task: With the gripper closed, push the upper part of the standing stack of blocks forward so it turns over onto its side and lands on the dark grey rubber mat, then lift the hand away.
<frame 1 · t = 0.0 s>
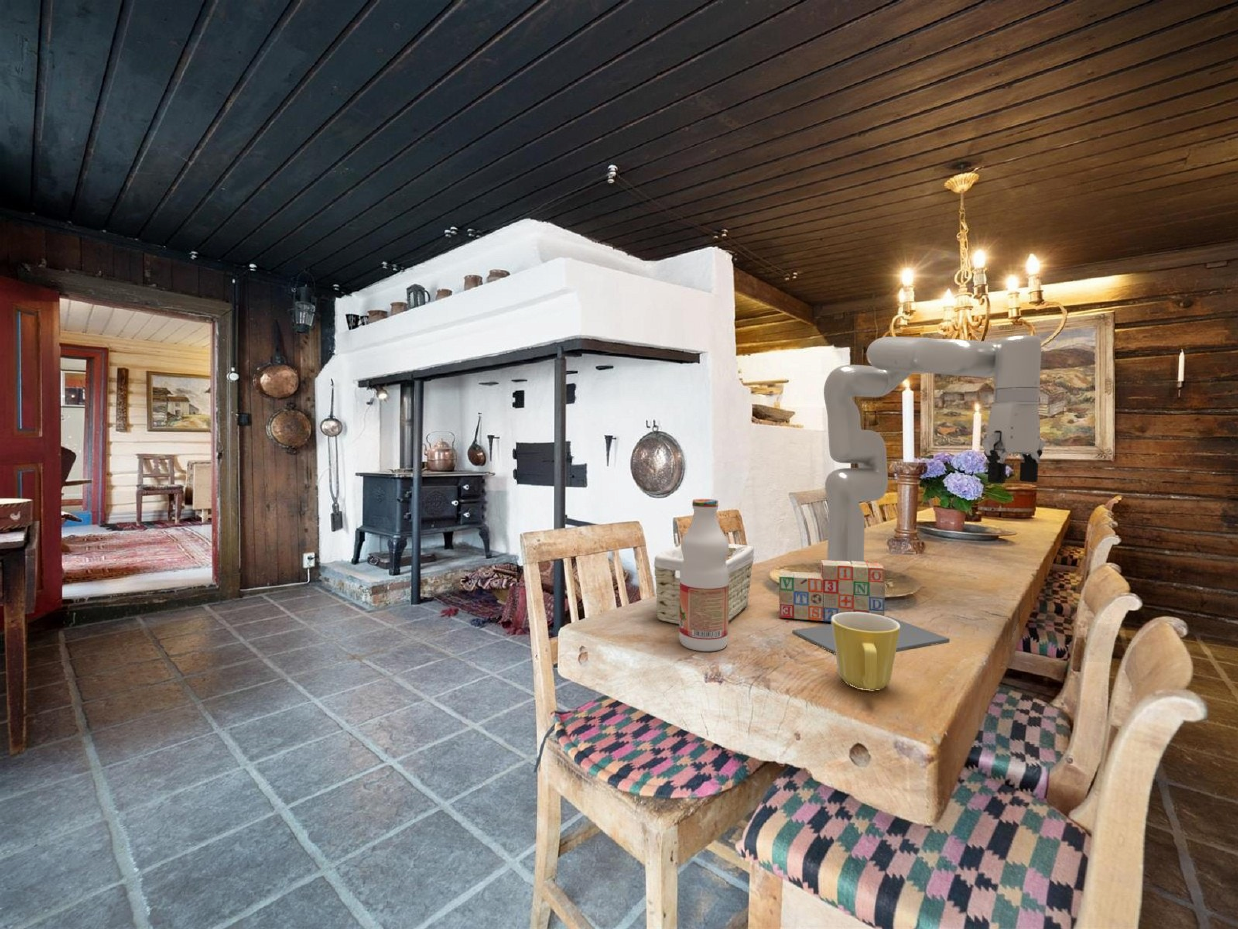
hand: (1012, 482, 114), 31 cm above the table, tool pointing down, fingers open, 9 cm apart
storage basket: (705, 614, 127), on the table
fruit juice: (703, 644, 108), on the table
rubber mat: (869, 637, 112), on the table
stack of blocks: (829, 619, 122), on the table, touching rubber mat
mug: (862, 689, 89), on the table
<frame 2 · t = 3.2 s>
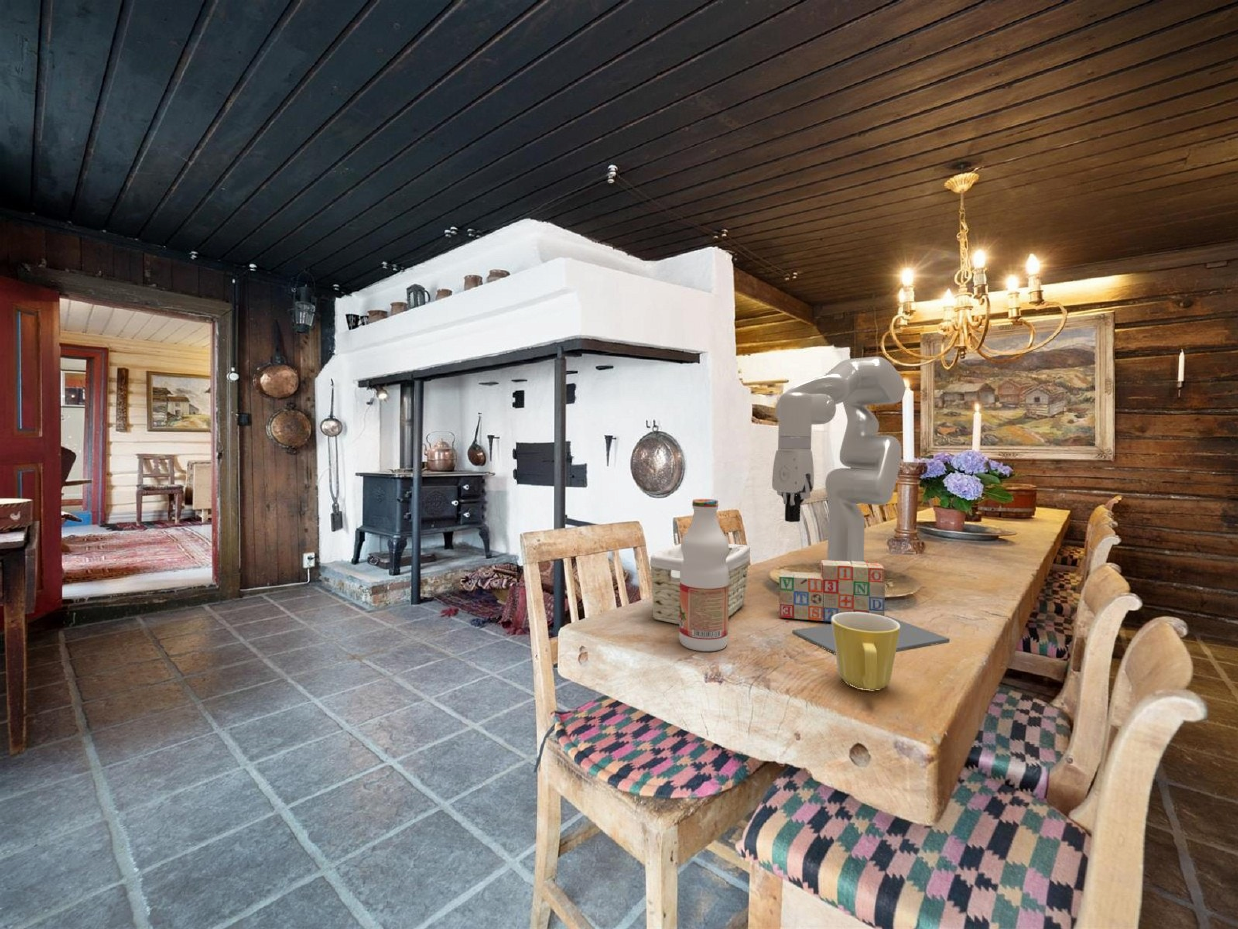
hand: (792, 521, 133), 20 cm above the table, tool pointing down, fingers closed
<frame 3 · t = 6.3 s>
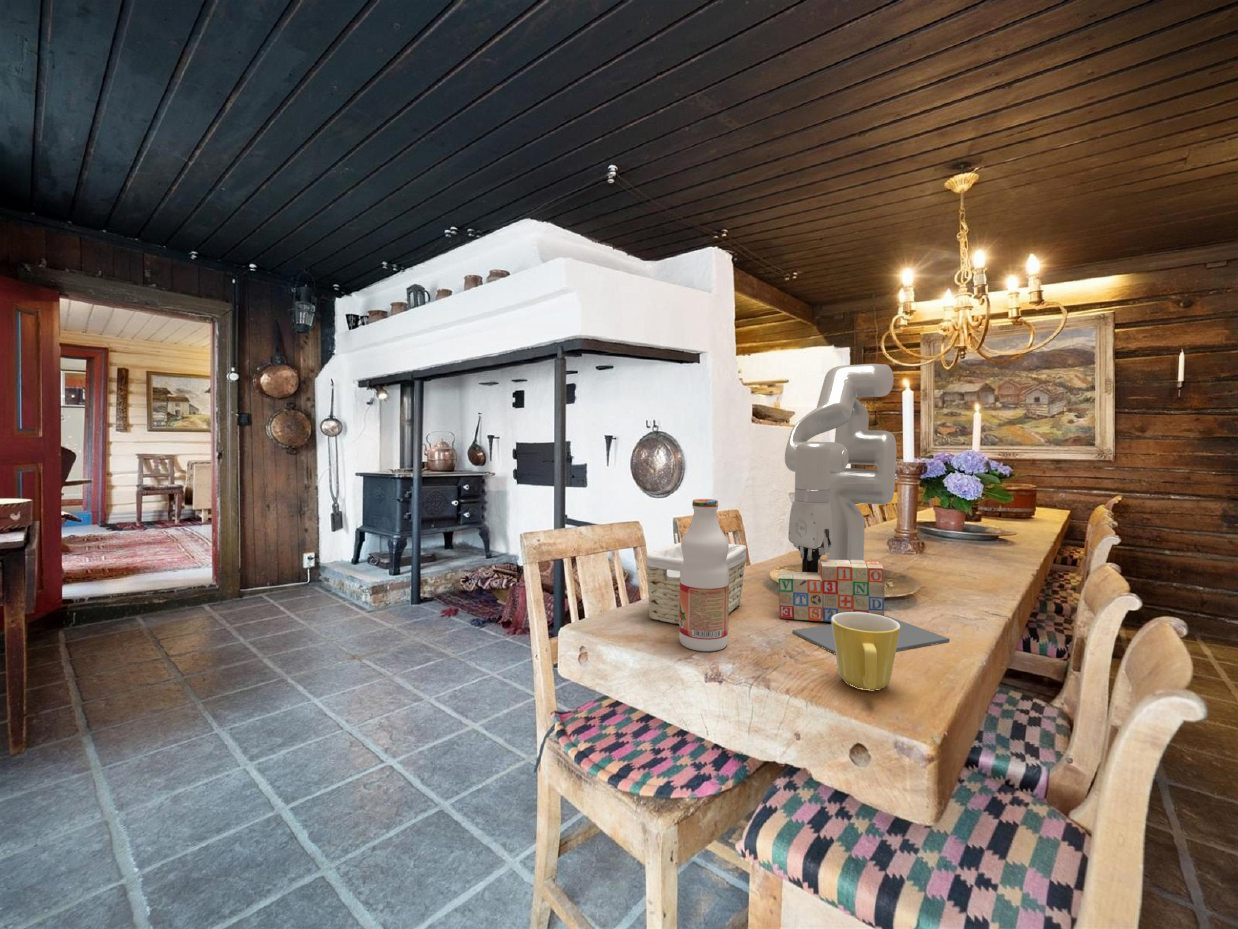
hand: (809, 576, 128), 8 cm above the table, tool pointing down, fingers closed
stack of blocks: (829, 618, 122), on the table, touching gripper, rubber mat
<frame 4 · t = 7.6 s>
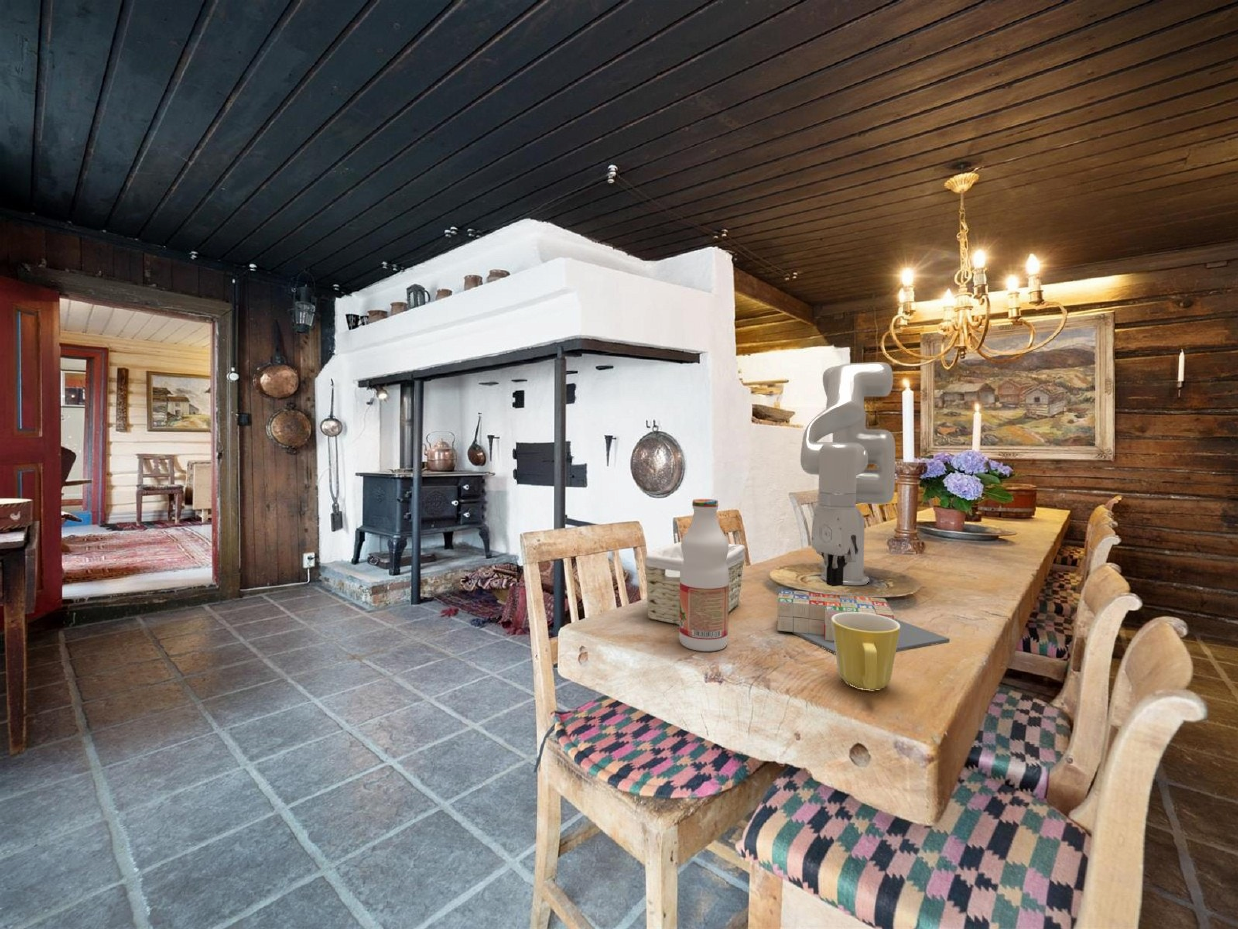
hand: (834, 584, 121), 8 cm above the table, tool pointing down, fingers closed
stack of blocks: (830, 607, 119), point 4 cm above the table, touching rubber mat
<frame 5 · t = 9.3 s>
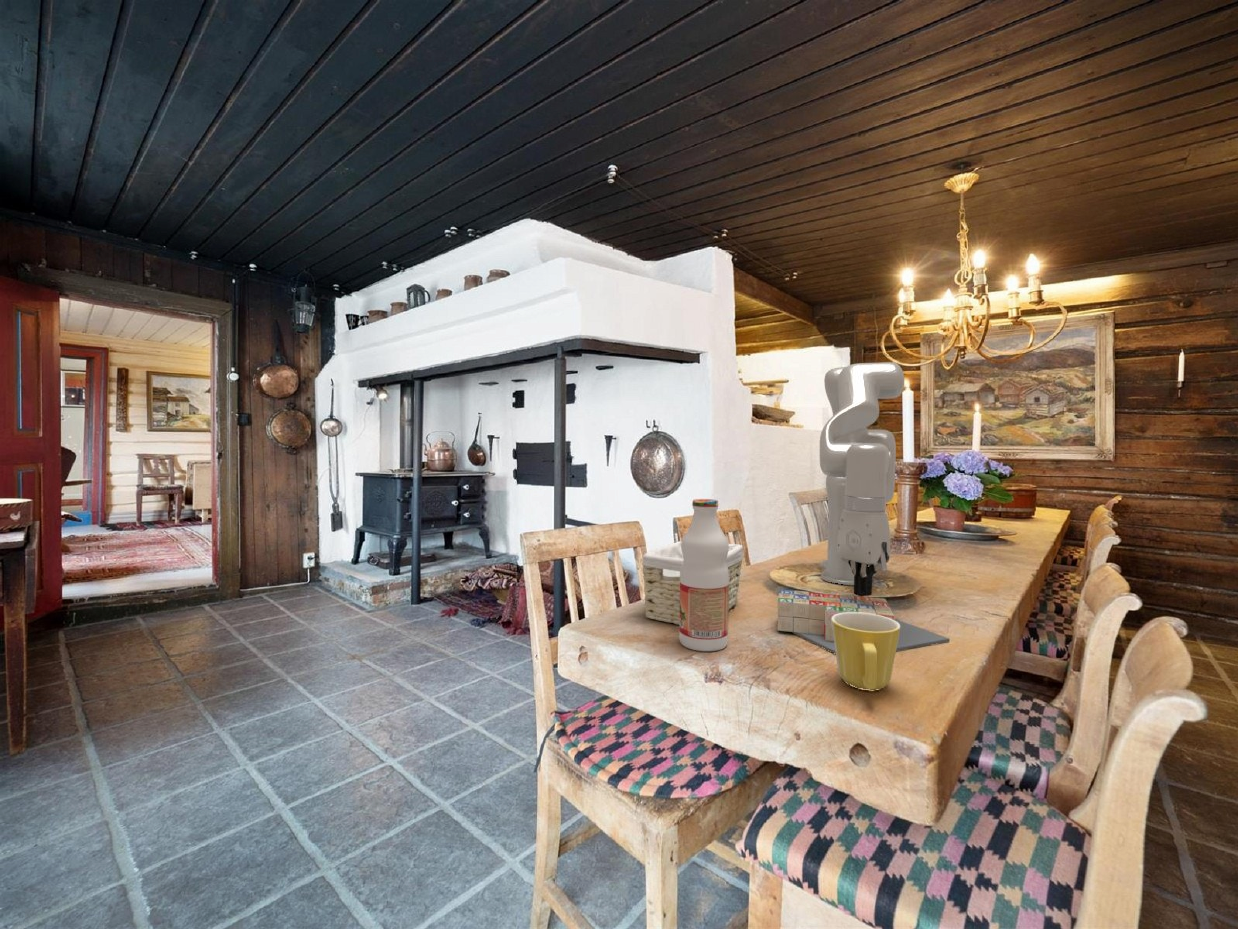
hand: (862, 594, 113), 8 cm above the table, tool pointing down, fingers closed
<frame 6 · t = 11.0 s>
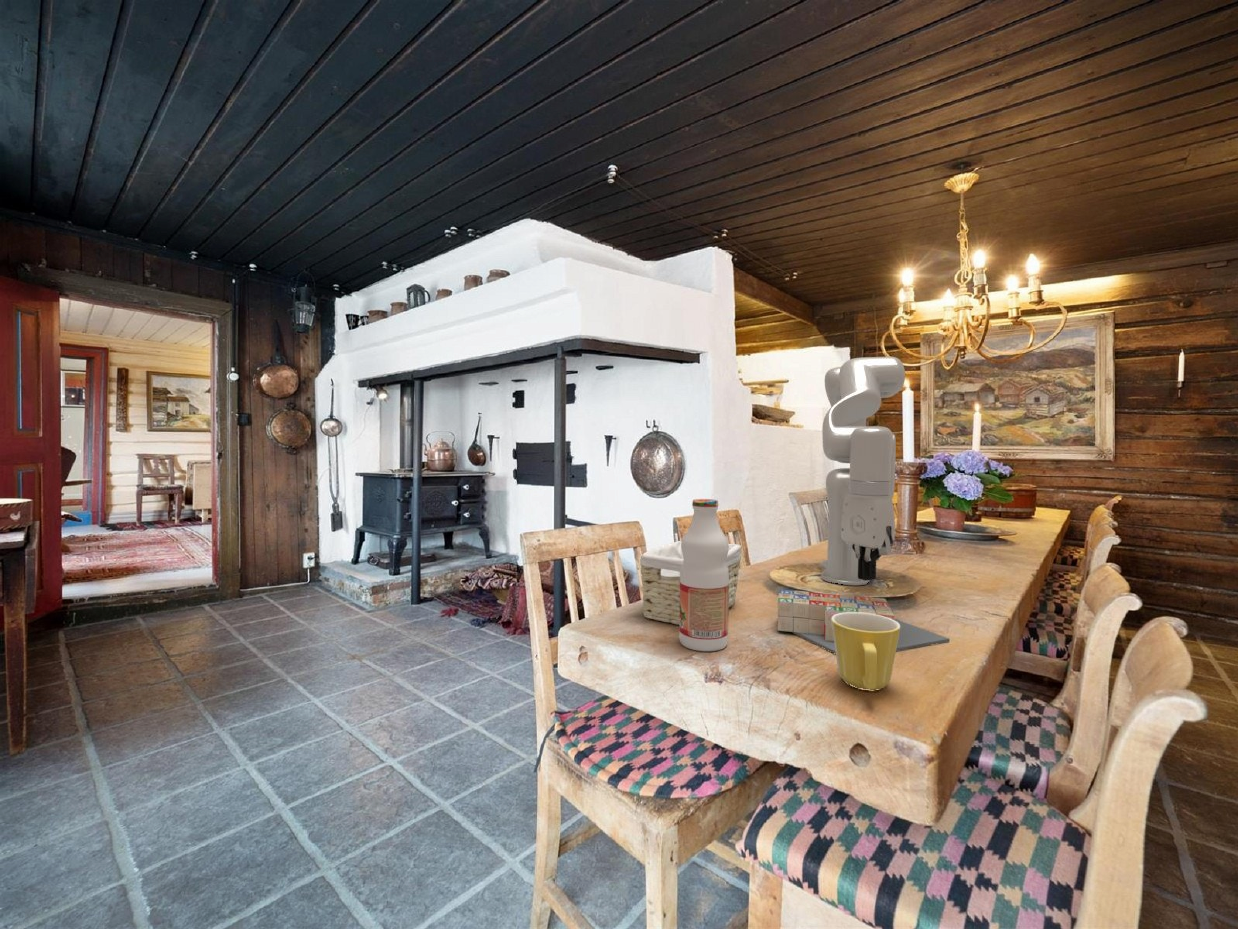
hand: (866, 578, 113), 12 cm above the table, tool pointing down, fingers closed
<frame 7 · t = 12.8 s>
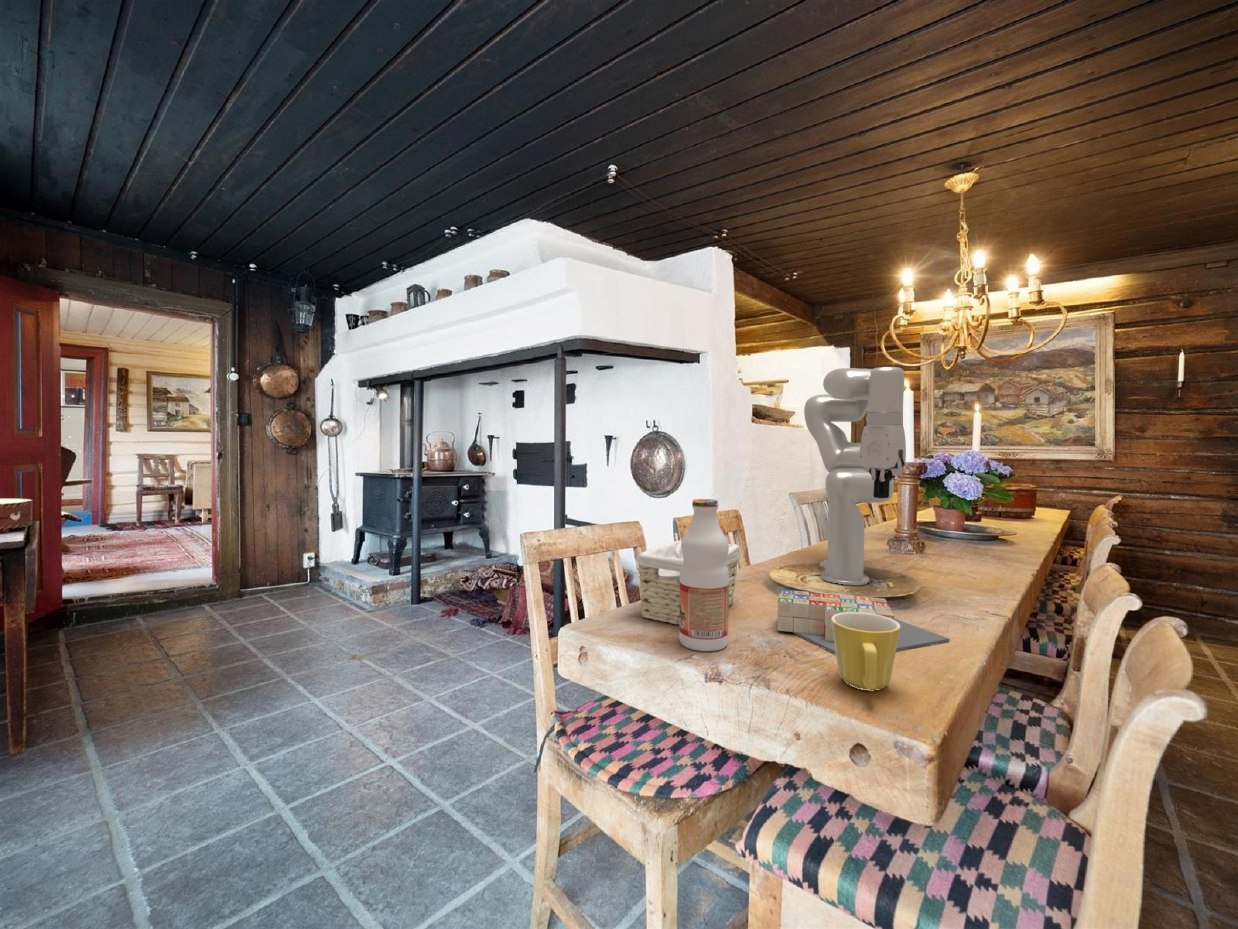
hand: (881, 497, 132), 26 cm above the table, tool pointing down, fingers closed
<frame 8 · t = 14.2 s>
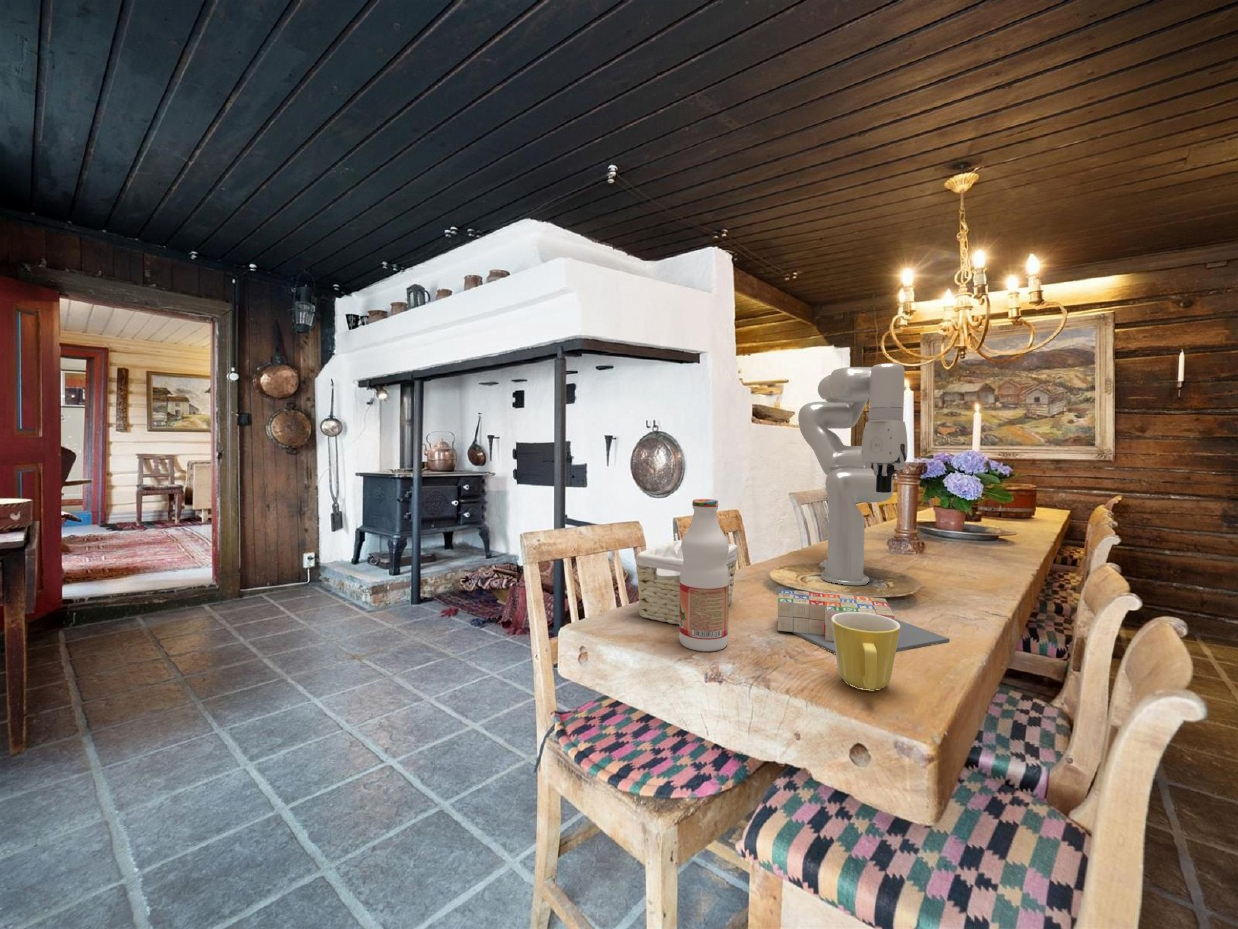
hand: (883, 492, 134), 27 cm above the table, tool pointing down, fingers closed
at the end: stack of blocks tilted 90°; stack of blocks inside the target area (6.6 cm from its centre), point 3.7 cm above the table; the gripper is holding nothing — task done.
